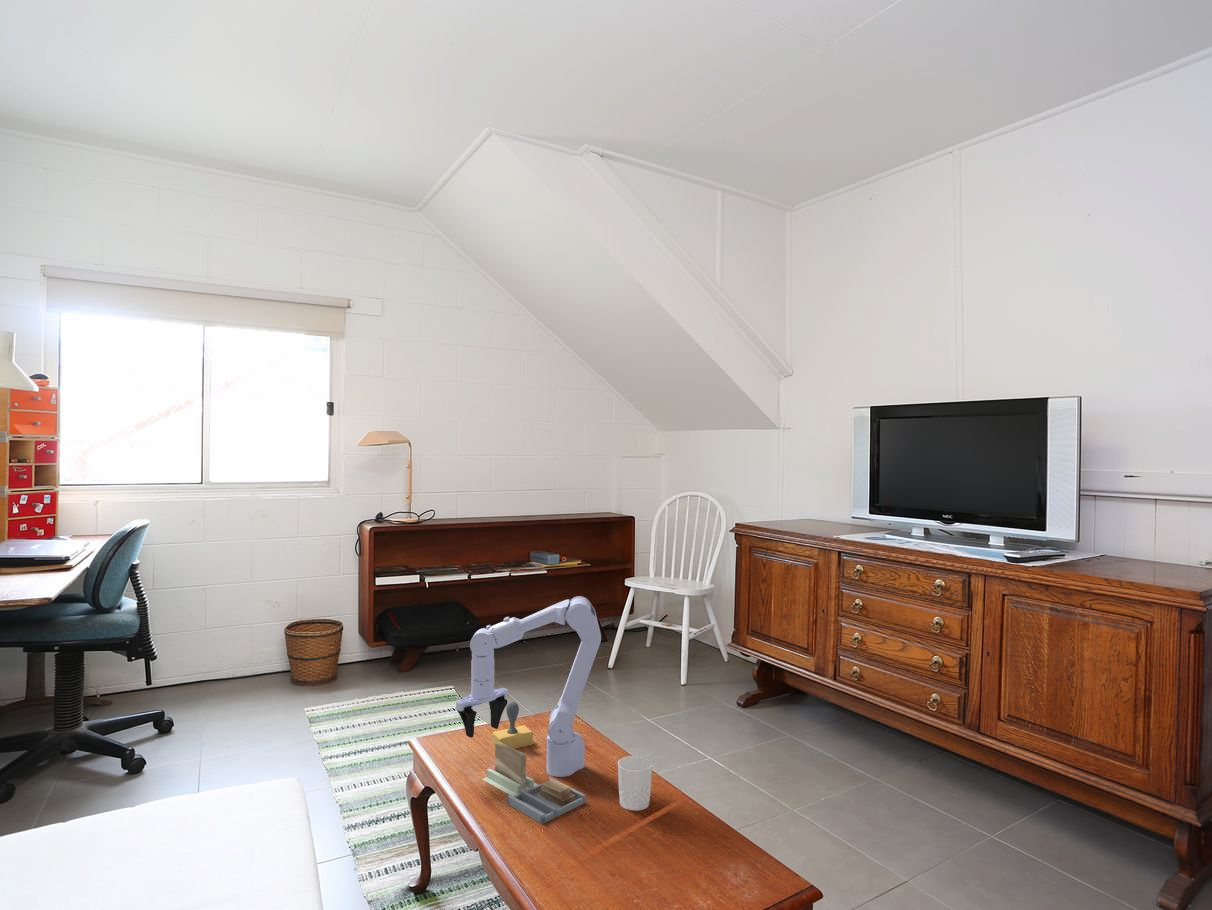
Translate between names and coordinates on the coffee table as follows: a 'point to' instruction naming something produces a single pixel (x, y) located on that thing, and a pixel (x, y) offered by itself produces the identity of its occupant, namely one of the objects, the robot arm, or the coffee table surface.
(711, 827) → the coffee table surface
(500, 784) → the stand
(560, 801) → the offcut lower
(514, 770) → the birch sheet
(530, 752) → the coffee table surface
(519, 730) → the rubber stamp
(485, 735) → the coffee table surface
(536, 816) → the tray
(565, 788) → the offcut upper
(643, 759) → the white cup
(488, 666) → the robot arm
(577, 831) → the coffee table surface
